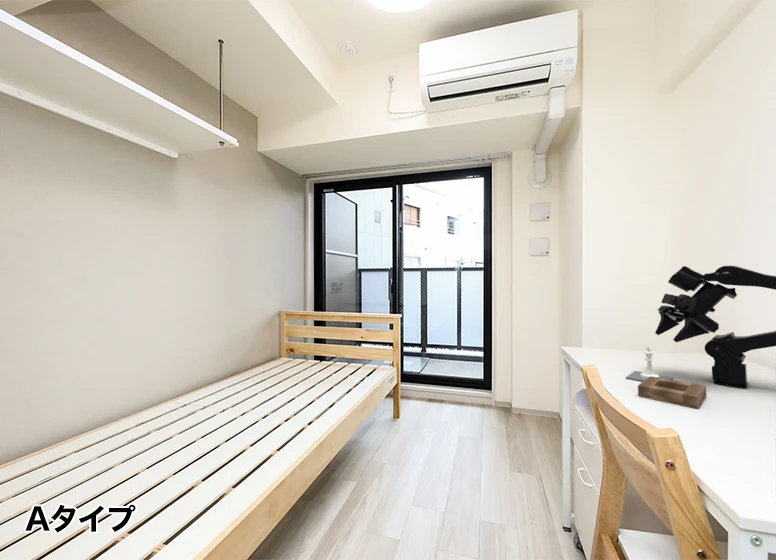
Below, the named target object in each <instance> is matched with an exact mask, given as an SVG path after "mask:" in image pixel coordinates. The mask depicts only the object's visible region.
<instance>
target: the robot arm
mask: <svg viewBox="0 0 776 560" xmlns="http://www.w3.org/2000/svg"><path fill="white" fill-rule="evenodd" d="M712 282H717V283H716V284H715V283H712ZM667 283H668V284H671V285H672V286H674V287H676V288H678V289H680V290H682V291H684V292H686V293H688V292H690V291H692V292H695V293H694V294H693V295H692V296H690V295H688V294H683V293H681V294H679V295H674V294H669V293H664V295H663V297H662V300H661V302H660V303H662V304H666V305H660V307H658V309H657V311H658V314H659V316H660V321H659V323H658V326H657V328H656V329H655V332H654V333H655V335H657V336H660V335H662V334H663V333H666V332H667V331H669V330H672V329H673V328H675V327H677V326H679V325H680V323H681V322H683V321H684V326H683V327H682V328H681V329H680V330H679V331H678V332H677V334H676V335H675V336H674V337H673V341H674V342H675V343H679V342H682V341H686V340H688V339H692V338H694V337H695V338H696V337H698V336H701V335H705V334H706V335H708V334H710V333H713V334H714V333H716V332H717V331H718V330H719V329H720V324H719V323H718V322H717V321H715V320H713V319H712V318H711V317H709V316H708V315H707V314H708V313H714V312H715V311H716V308H715V307H716V305H718V304H719V303H720V302H721V301H722V300H723V299H724V298H725V297H728V298H730V299H733V300H734V299H736V298H737V296H738V294H737V292H736V288H735V287H731V288H730V287H729V288H728V287H726V286H736V287H738V286H740V287H741V286H743V287H756V288H757V287H758V288H766V289H770V290H775V291H776V275H771V274H767V273H762V272H758V271H754V270H751V269H748V268H745V267H740V266H737V265H723V266H720V267H718V268H717V269H716V270H715V271H714V272H710V273H704V274H702V273H700V272H698V271H695V270H694V269H691V268H690V267H688V266H687V265H685V266H684V265H683V266H682V267H681V268H680V269H679V270H677V271H676V272H675V273H673V275H672V276H671V277H670V278H669V279H668V281H667ZM701 285H702V286H701ZM725 285H726V286H725ZM700 286H701V287H700ZM699 287H700V288H699ZM697 289H698V290H697ZM696 290H697V291H696ZM772 347H773V348H774V347H776V330H773V331H767V332H762V333H757V334H751V335H745V336H737V335H735V332H734V331H731V332H729V333H726V334H716V335H714V336H713V337H712V338H711V339H709V341H707V342H706V344H705V345H704V351H705V353H706V354H707V355H708V356H709V357H711V358H713V360H714V363H713V365H712V366H711V374H712V375H711V376H712V377H711V379H712V381H713V383H714V384H717V385H721V386H729V387H735V388H740V389H747V388H748V385H749V381H748V375H747V373H748V372H747V364H746V363H743V362H744V361H745V359H746V357H747V356H746V354H744V353H747V352H750V351H754V350H759V349H766V348H772Z"/></svg>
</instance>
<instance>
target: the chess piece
mask: <svg viewBox="0 0 776 560" xmlns="http://www.w3.org/2000/svg"><path fill="white" fill-rule="evenodd" d="M645 350H646V351H645V352H644V354H645V357H646V358H644V361H646V362H647V363H646V370H645V371H644V372H645V373H641V374H640V376H641V377H643V378H646V379H647V378H648V377H650V376H652V377H657V378H660V376H659V375H660V374H657V373H655V371H654V370H653V364H652V362H654V359H652V357H653V354H654V353H653V352H652V348H651V347H650V345H649V346H647V347H646V348H645Z"/></svg>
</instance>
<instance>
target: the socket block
mask: <svg viewBox="0 0 776 560" xmlns="http://www.w3.org/2000/svg"><path fill="white" fill-rule="evenodd" d="M637 393H638V394H637V396H638V397H641V398H645V399H649V400H654V401H659V402H663V403H669V404H673V405H679V406H683V407H688V408H692V409H697V410H699V409H700V407H701V406H702V404H703V403H704V401H705V400H706V398H707V385H702V384H697V383H692V382H687V381H680V380H675V379H673V380H669V379H663V378H657V377H652V376H650V377H648V378H647V379H646V380H644V381H643V382H640V383H639V384H638V385H637Z"/></svg>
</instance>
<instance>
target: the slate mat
mask: <svg viewBox="0 0 776 560" xmlns="http://www.w3.org/2000/svg"><path fill="white" fill-rule="evenodd" d="M641 373H645V371H638V370H634V371H633V372H631V373H630V374H629V375H627V376H625V380H630V381H631V380H632V381H636V382H640V383H642V382H643V381H644V380H646V378H643V377H641V376H640V374H641ZM658 375H659V376H660V378H663V379H669V380H675V379H674V377H673V376H668V375H664V374H663V375H662V374H658Z"/></svg>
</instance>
